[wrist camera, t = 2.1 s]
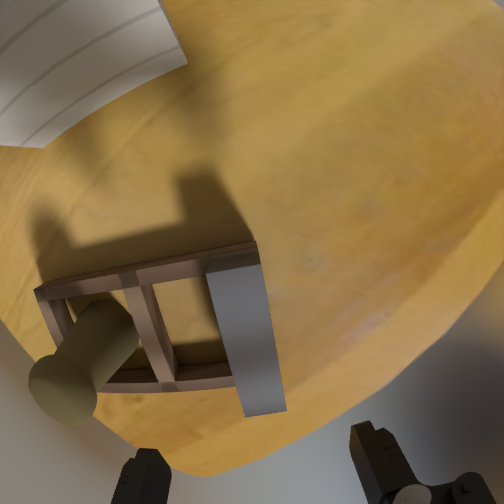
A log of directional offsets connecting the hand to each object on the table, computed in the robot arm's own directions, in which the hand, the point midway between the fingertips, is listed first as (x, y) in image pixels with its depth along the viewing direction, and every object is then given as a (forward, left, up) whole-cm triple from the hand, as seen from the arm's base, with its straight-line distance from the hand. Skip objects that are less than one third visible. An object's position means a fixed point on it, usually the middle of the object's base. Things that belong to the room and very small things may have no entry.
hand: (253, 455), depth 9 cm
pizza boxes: (-25, -15, -14) cm, 32 cm away
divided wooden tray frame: (0, -8, -14) cm, 16 cm away
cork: (0, -13, -14) cm, 19 cm away
